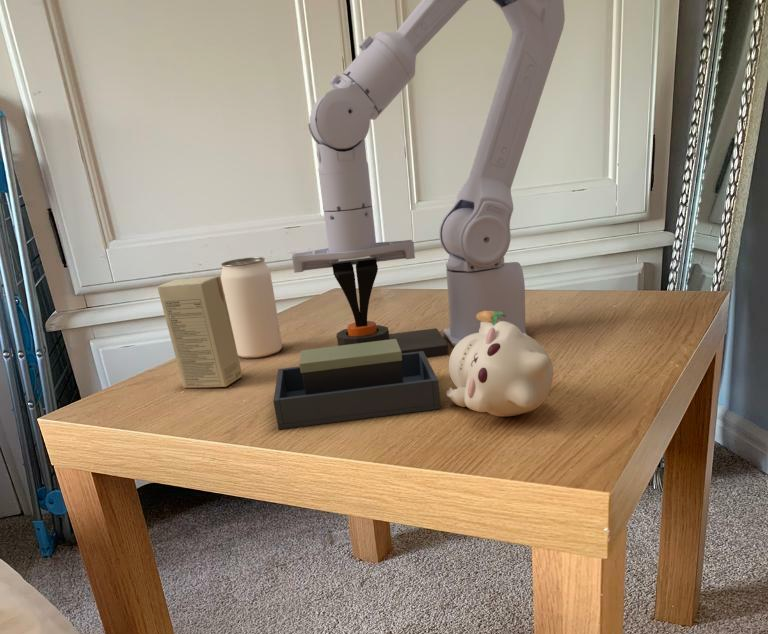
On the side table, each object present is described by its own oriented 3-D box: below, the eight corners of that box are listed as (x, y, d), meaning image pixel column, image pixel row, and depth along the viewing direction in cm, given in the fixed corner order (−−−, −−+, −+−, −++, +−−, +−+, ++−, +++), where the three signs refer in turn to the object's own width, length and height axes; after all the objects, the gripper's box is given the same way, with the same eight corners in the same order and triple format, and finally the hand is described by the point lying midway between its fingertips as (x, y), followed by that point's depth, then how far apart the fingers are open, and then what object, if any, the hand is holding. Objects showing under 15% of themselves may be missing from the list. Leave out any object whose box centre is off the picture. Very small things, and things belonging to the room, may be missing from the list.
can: (274, 358, 99) (257, 263, 93) (228, 360, 100) (209, 267, 95) (289, 344, 104) (274, 254, 99) (245, 347, 106) (229, 258, 101)
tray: (425, 376, 85) (423, 350, 83) (440, 409, 75) (438, 379, 73) (282, 394, 84) (278, 368, 83) (278, 429, 74) (273, 400, 73)
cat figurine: (452, 299, 75) (526, 305, 62) (517, 329, 79) (600, 341, 65) (417, 389, 77) (481, 414, 63) (481, 414, 80) (555, 444, 67)
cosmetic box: (244, 377, 92) (224, 274, 87) (226, 388, 89) (204, 282, 83) (199, 377, 94) (176, 277, 89) (180, 388, 91) (155, 285, 85)
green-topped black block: (400, 384, 82) (396, 338, 80) (405, 398, 77) (401, 350, 75) (307, 395, 82) (300, 350, 79) (306, 411, 77) (299, 363, 75)
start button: (376, 333, 96) (374, 319, 96) (378, 340, 93) (376, 325, 92) (348, 336, 96) (346, 323, 95) (349, 343, 93) (347, 329, 92)
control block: (437, 336, 100) (436, 314, 99) (448, 354, 92) (446, 330, 91) (338, 349, 100) (335, 326, 98) (340, 367, 92) (337, 343, 90)
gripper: (405, 198, 92) (414, 311, 98) (287, 212, 91) (303, 324, 97) (412, 203, 85) (421, 323, 91) (285, 218, 85) (303, 337, 91)
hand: (361, 324), depth 94 cm, fingers closed, pressing on start button
